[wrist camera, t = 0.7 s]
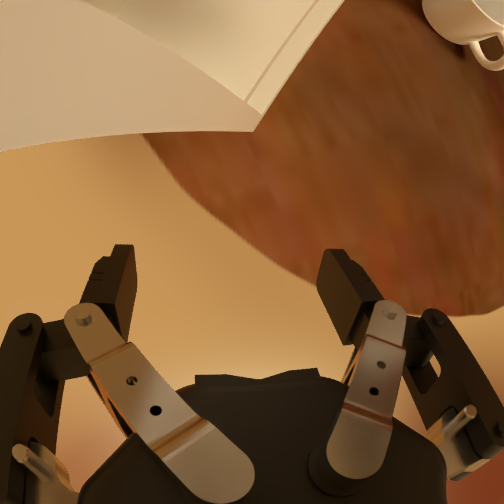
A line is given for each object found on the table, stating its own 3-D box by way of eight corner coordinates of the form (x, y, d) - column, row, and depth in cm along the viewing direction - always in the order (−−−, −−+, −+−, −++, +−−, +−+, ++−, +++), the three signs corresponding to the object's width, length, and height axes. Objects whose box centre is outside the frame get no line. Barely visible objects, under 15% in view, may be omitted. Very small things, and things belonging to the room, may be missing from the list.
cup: (459, -14, 20) (499, -41, 11) (497, 71, 24) (548, 64, 15) (408, -12, 22) (442, -47, 13) (449, 79, 26) (500, 68, 16)
